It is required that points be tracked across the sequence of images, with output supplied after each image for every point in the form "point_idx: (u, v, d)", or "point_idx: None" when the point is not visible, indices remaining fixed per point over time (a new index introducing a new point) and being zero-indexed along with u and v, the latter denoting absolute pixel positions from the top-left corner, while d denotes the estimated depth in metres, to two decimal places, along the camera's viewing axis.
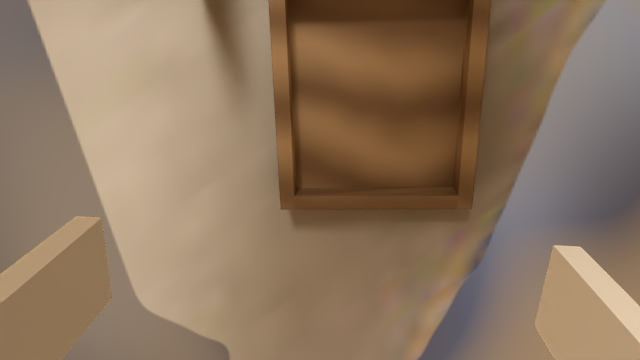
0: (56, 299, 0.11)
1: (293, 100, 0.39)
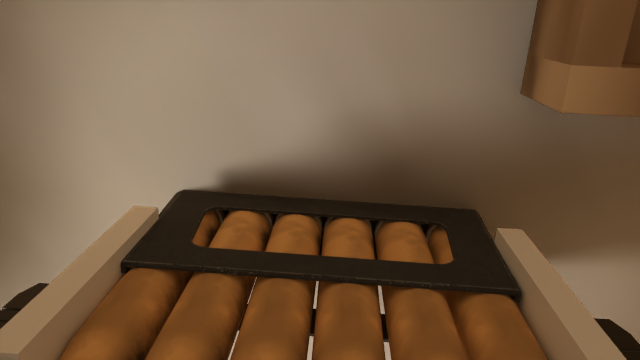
0: None
1: None
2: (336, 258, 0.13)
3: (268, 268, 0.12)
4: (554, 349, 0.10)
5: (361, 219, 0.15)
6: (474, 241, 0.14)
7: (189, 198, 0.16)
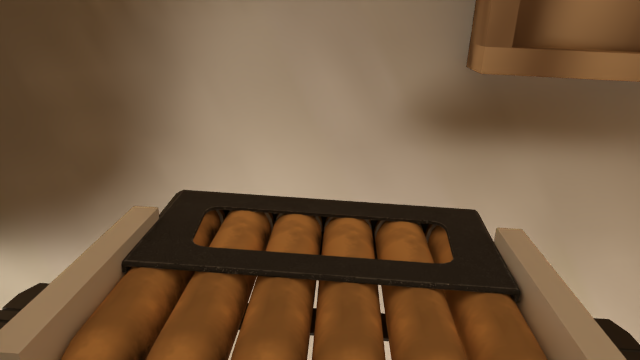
0: None
1: None
2: (336, 258, 0.13)
3: (268, 267, 0.12)
4: (554, 349, 0.10)
5: (361, 219, 0.15)
6: (474, 241, 0.14)
7: (189, 198, 0.16)
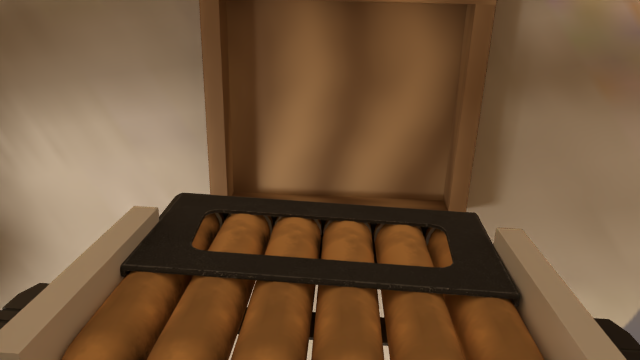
0: None
1: (338, 195, 0.35)
2: (335, 262, 0.13)
3: (267, 272, 0.12)
4: (554, 349, 0.10)
5: (361, 222, 0.15)
6: (474, 244, 0.14)
7: (188, 200, 0.16)
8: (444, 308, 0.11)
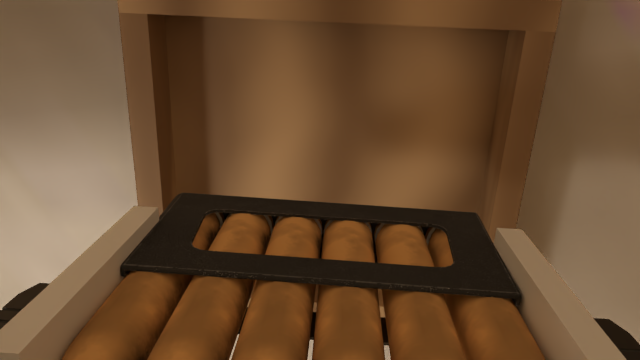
0: None
1: None
2: (336, 261, 0.13)
3: (268, 271, 0.12)
4: (554, 349, 0.10)
5: (361, 222, 0.15)
6: (474, 244, 0.14)
7: (189, 200, 0.16)
8: (445, 308, 0.11)
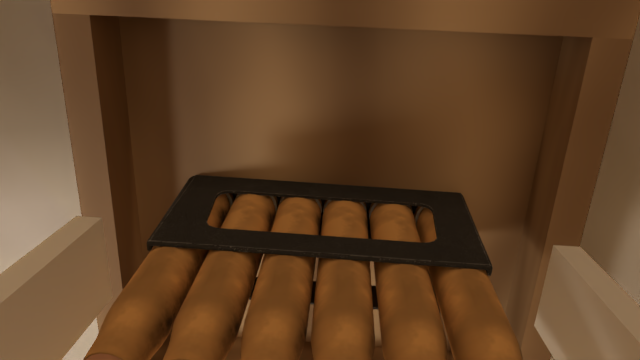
0: (56, 299, 0.11)
1: None
2: (333, 237, 0.14)
3: (274, 246, 0.14)
4: None
5: (356, 201, 0.17)
6: (456, 222, 0.16)
7: (201, 182, 0.18)
8: (426, 277, 0.13)
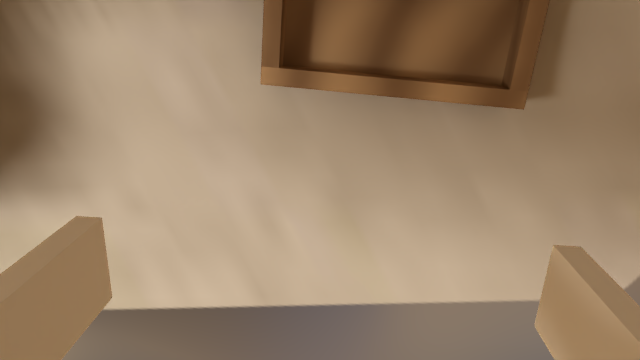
0: (56, 299, 0.11)
1: (392, 74, 0.33)
2: None
3: None
4: None
5: None
6: None
7: None
8: None
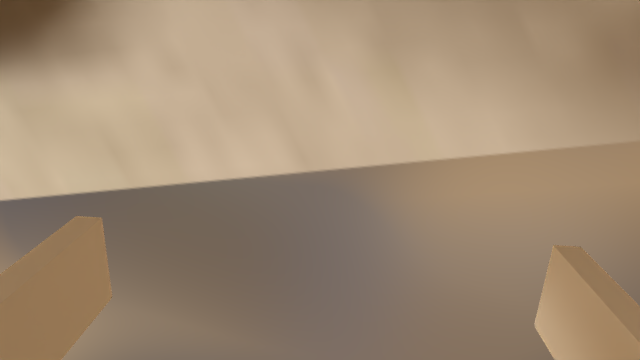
0: (56, 299, 0.11)
1: None
2: None
3: None
4: None
5: None
6: None
7: None
8: None
